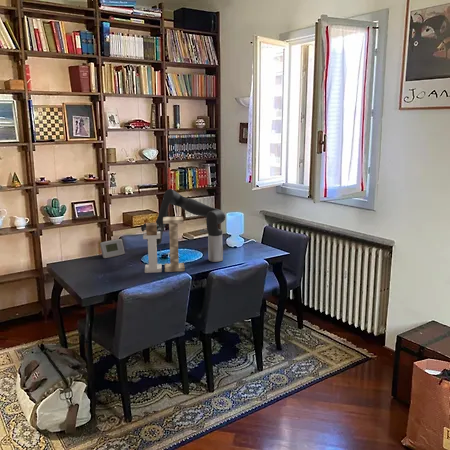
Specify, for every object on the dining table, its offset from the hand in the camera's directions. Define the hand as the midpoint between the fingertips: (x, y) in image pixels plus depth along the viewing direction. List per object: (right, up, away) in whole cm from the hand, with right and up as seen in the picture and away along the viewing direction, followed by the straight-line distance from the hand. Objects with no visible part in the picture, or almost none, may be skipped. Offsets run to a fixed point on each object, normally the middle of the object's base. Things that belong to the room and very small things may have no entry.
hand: (152, 224), depth 287 cm
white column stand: (+1, -28, -2) cm, 28 cm away
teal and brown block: (0, -4, -2) cm, 4 cm away
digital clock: (-31, -22, +27) cm, 46 cm away
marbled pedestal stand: (+14, -27, -1) cm, 31 cm away
